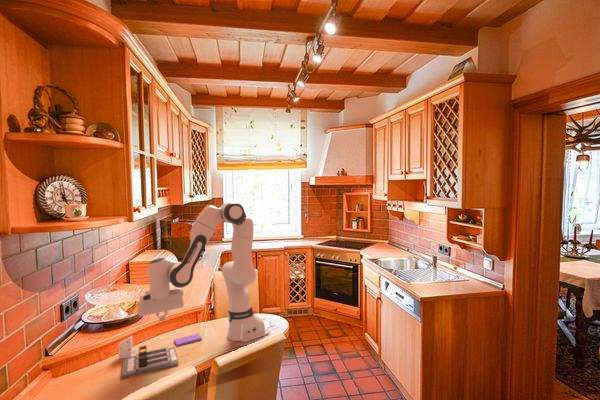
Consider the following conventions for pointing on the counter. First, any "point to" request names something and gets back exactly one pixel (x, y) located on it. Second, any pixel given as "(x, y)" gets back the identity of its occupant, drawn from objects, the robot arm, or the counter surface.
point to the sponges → (187, 339)
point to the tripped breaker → (142, 352)
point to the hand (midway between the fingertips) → (162, 320)
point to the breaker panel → (149, 361)
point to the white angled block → (126, 348)
